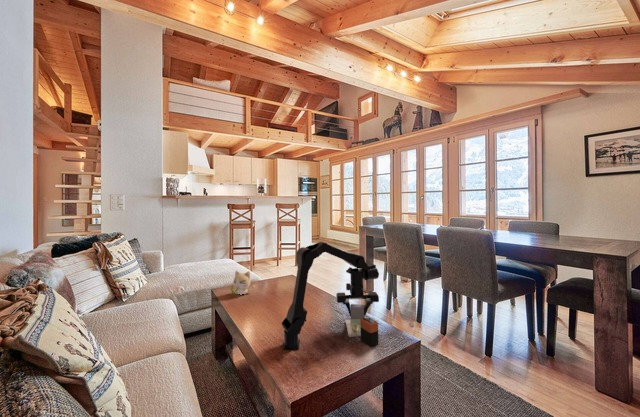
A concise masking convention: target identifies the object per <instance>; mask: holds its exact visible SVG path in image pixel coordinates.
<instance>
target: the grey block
mask: <svg viewBox="0 0 640 417" xmlns="http://www.w3.org/2000/svg"><path fill="white" fill-rule="evenodd" d="M350 310H351V316H350V320H351V321H350V325H360V319H361V318H364V304H360V303H359V304H355V303H351V304H350Z"/></svg>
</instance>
